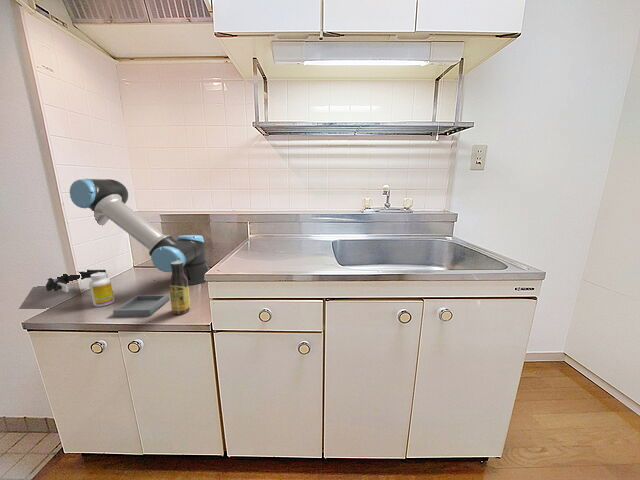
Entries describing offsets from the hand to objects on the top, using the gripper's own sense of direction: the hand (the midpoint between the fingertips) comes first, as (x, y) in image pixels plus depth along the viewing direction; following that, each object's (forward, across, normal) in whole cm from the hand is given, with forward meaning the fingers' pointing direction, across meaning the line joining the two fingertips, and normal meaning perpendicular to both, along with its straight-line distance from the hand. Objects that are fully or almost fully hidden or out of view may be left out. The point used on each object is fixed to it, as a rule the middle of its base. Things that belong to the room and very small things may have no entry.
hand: (88, 282), depth 107 cm
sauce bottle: (+45, -9, -8) cm, 46 cm away
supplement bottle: (+10, 0, -8) cm, 12 cm away
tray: (+28, -5, -8) cm, 30 cm away
